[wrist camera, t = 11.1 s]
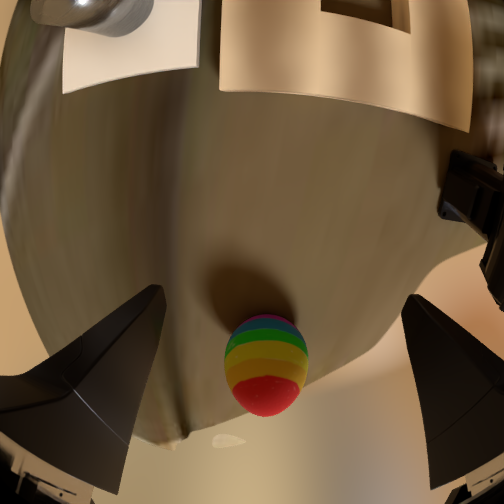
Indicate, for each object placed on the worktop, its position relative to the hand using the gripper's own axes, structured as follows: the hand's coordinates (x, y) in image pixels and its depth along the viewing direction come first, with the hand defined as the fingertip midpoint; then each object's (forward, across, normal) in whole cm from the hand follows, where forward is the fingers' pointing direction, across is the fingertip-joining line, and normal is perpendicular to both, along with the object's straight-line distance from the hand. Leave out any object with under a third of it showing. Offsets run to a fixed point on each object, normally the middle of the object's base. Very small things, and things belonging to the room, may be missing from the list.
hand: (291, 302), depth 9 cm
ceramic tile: (+13, +12, -15) cm, 23 cm away
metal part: (+12, +12, -15) cm, 23 cm away
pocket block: (+13, -5, -16) cm, 21 cm away
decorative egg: (+13, 0, +16) cm, 21 cm away
